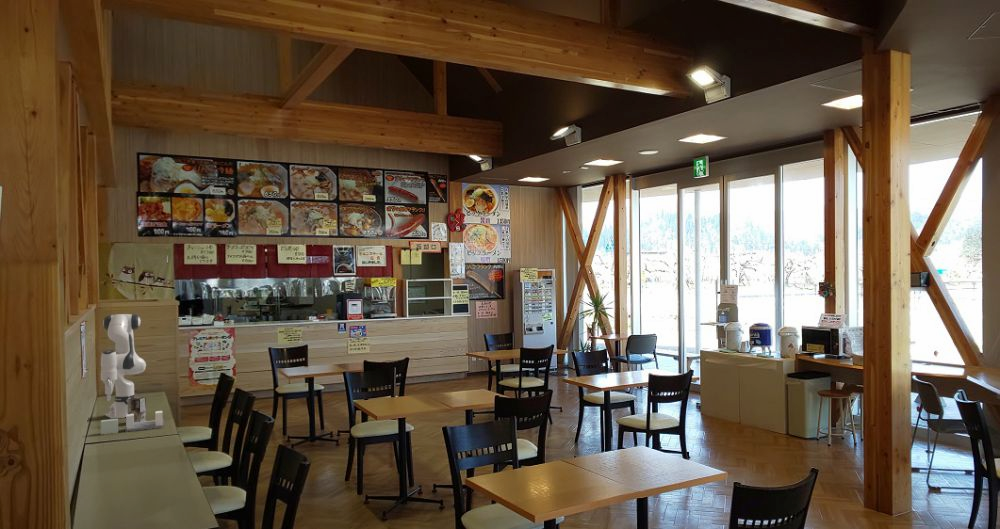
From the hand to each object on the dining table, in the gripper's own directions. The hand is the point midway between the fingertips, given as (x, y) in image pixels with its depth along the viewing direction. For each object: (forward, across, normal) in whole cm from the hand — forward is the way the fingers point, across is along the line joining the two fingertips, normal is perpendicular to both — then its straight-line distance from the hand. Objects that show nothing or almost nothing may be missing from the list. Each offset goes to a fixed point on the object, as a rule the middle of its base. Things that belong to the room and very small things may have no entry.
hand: (109, 399), depth 411 cm
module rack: (+21, +2, -19) cm, 28 cm away
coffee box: (+21, +24, -14) cm, 35 cm away
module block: (+21, 0, 0) cm, 21 cm away
